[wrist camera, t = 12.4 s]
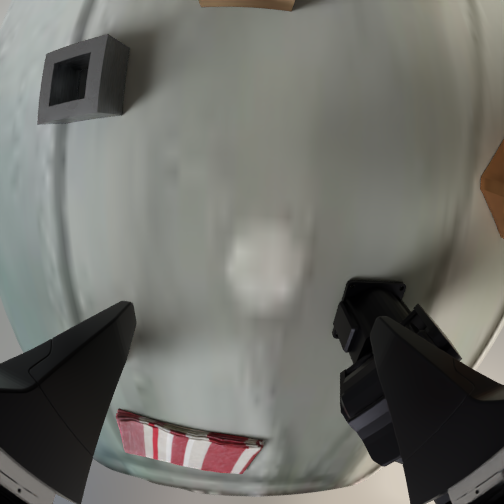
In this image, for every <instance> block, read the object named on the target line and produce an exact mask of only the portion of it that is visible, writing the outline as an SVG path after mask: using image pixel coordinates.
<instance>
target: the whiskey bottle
mask: <svg viewBox="0 0 504 504" xmlns="http://www.w3.org/2000/svg"><path fill="white" fill-rule="evenodd" d="M480 189H481V191H482V193H483V195H484V197H485V200H486V202H487V204H488V206H489V208H490V211H491V213H492V215H493V218H494V220H495V223H496V225H497V228H498V231H499V233H500V236H501V238H503V239H504V139H503V141H502V143H501V145H500V147H499V148H498V150H497V152H496V153H495V155H494V157H493V159H492V160H491V162H490V163H489V165H488V167H487V168H486V170H485V171H484V173H483V175H482V176H481V186H480Z"/></svg>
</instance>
